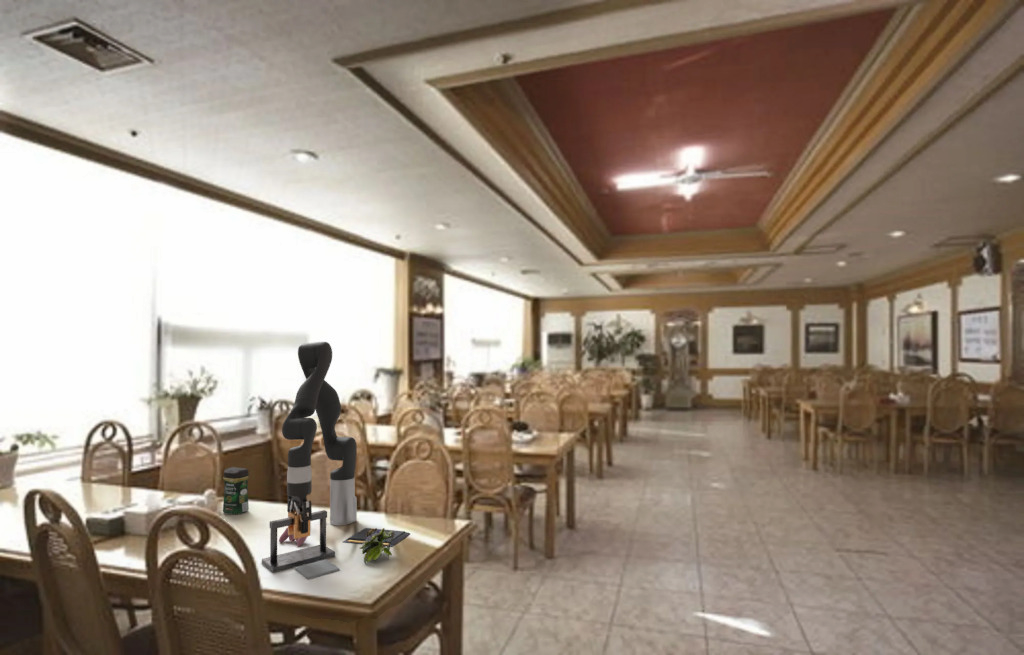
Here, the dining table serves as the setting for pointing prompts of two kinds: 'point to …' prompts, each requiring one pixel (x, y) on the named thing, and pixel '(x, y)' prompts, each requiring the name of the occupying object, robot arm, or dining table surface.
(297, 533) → the copper link
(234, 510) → the coffee jar
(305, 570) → the mat
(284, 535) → the pink animal figurine
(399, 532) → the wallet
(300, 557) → the hanger stand
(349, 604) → the dining table surface
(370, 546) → the green leafy plant
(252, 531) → the dining table surface
